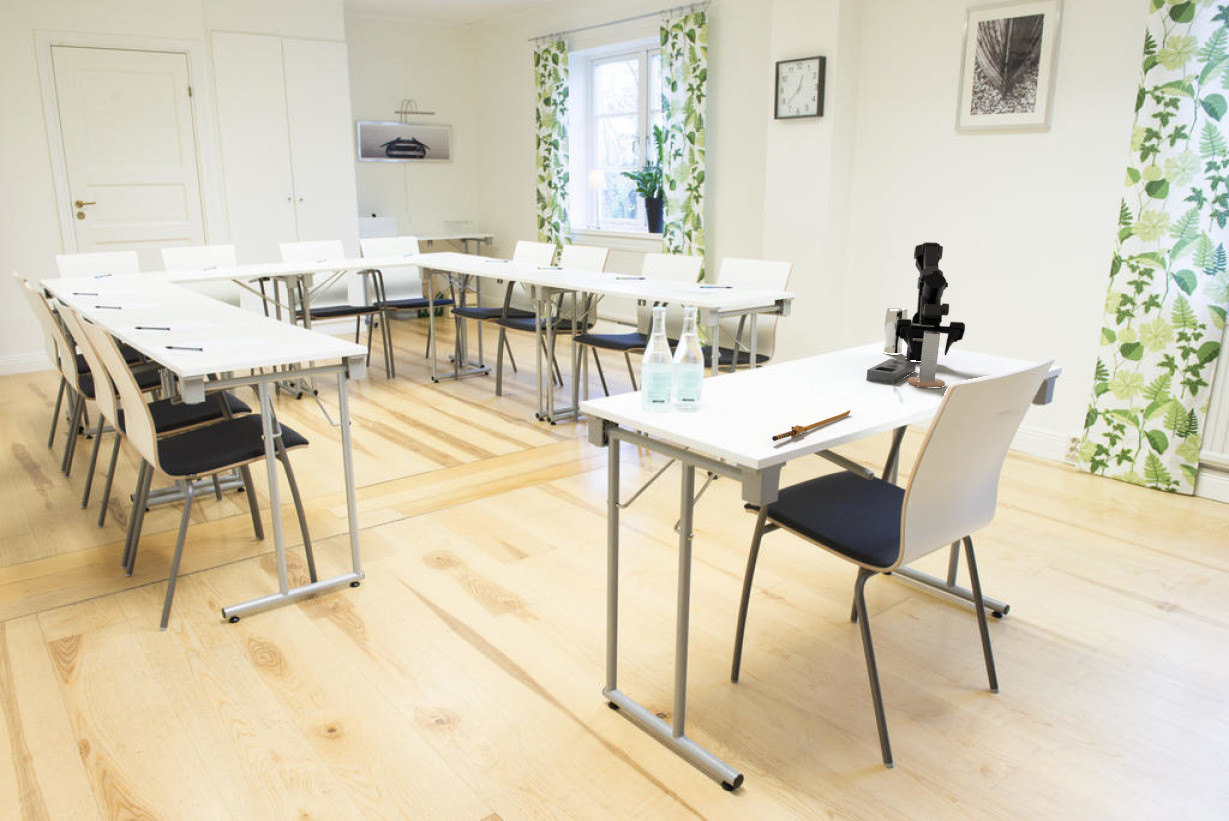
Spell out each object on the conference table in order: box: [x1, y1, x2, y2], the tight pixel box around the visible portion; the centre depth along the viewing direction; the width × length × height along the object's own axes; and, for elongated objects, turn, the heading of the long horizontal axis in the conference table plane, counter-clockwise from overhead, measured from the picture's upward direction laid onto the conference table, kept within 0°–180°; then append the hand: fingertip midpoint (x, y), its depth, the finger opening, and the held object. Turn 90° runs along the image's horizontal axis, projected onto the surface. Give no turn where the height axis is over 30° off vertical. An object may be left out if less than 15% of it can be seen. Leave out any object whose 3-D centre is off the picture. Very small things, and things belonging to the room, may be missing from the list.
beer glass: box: [883, 307, 908, 353], centre depth 287 cm, size 7×7×15 cm
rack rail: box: [866, 358, 917, 384], centre depth 256 cm, size 20×8×3 cm, turn 145°
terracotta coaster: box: [907, 376, 946, 388], centre depth 246 cm, size 10×10×1 cm
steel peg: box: [918, 331, 941, 383], centre depth 244 cm, size 4×4×14 cm
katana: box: [771, 410, 851, 442], centre depth 200 cm, size 1×35×3 cm, turn 138°
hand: (928, 353), depth 247 cm, fingers open, 9 cm apart
